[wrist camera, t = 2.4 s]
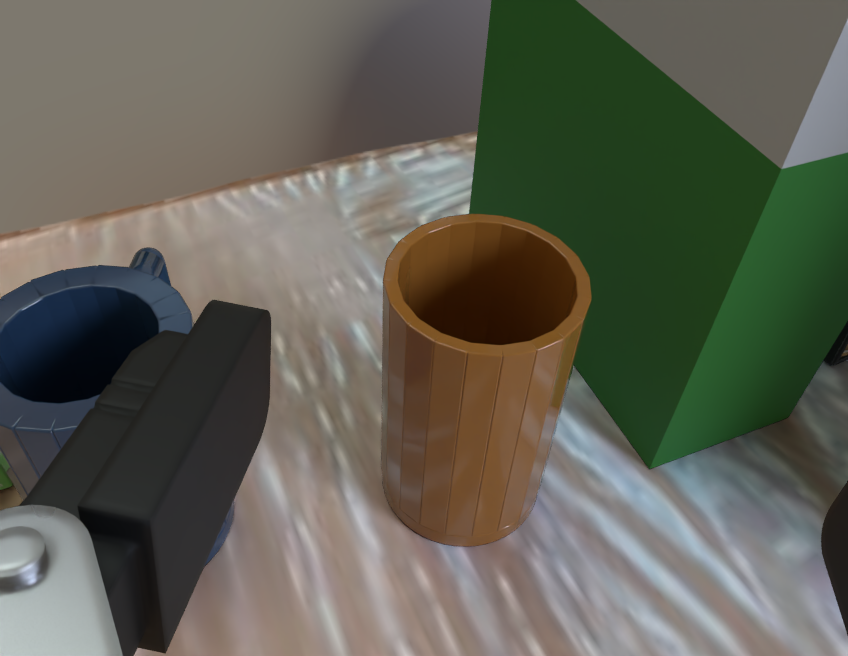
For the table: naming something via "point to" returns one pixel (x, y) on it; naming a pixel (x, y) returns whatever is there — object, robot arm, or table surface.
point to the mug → (75, 354)
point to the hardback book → (680, 196)
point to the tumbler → (475, 371)
